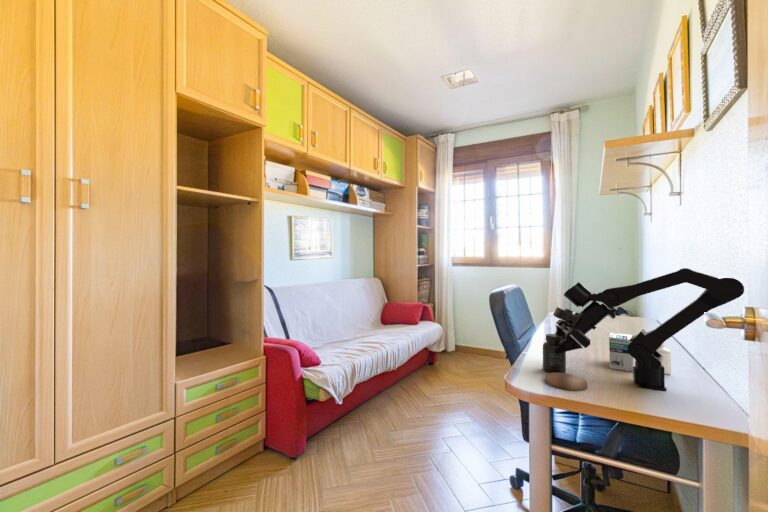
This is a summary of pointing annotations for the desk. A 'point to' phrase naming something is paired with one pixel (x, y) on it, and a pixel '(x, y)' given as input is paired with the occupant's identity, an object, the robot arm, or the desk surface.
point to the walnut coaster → (566, 381)
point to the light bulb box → (620, 352)
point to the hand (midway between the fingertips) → (552, 349)
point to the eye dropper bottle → (665, 359)
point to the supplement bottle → (553, 355)
